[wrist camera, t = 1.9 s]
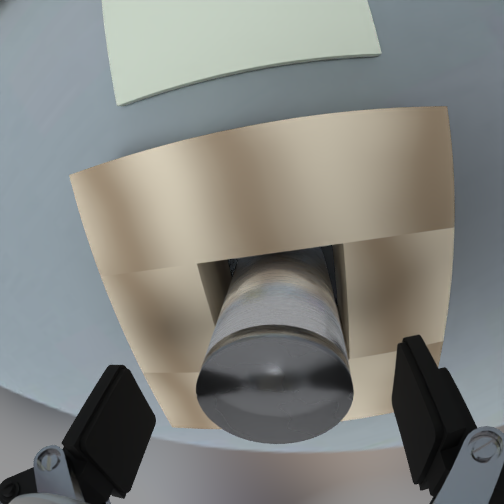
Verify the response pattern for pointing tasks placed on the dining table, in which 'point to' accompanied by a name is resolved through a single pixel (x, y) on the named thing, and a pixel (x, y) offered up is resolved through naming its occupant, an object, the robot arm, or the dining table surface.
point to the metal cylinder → (277, 352)
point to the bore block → (278, 237)
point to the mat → (225, 39)
